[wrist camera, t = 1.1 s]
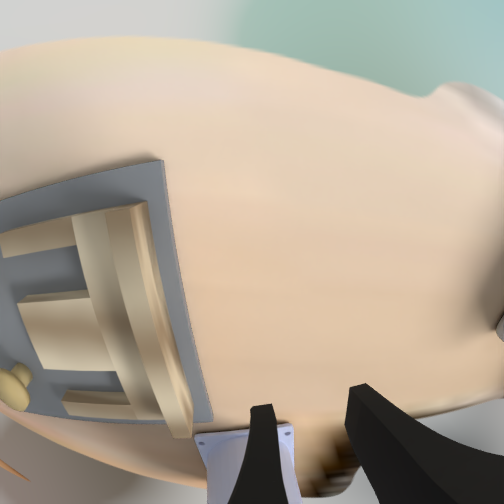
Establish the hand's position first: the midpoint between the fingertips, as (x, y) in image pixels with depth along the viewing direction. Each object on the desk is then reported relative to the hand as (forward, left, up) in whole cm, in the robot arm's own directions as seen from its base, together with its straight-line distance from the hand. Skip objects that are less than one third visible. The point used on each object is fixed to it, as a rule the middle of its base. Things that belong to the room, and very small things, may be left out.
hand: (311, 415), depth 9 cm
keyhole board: (0, +15, -9) cm, 17 cm away
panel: (0, +11, -9) cm, 14 cm away
